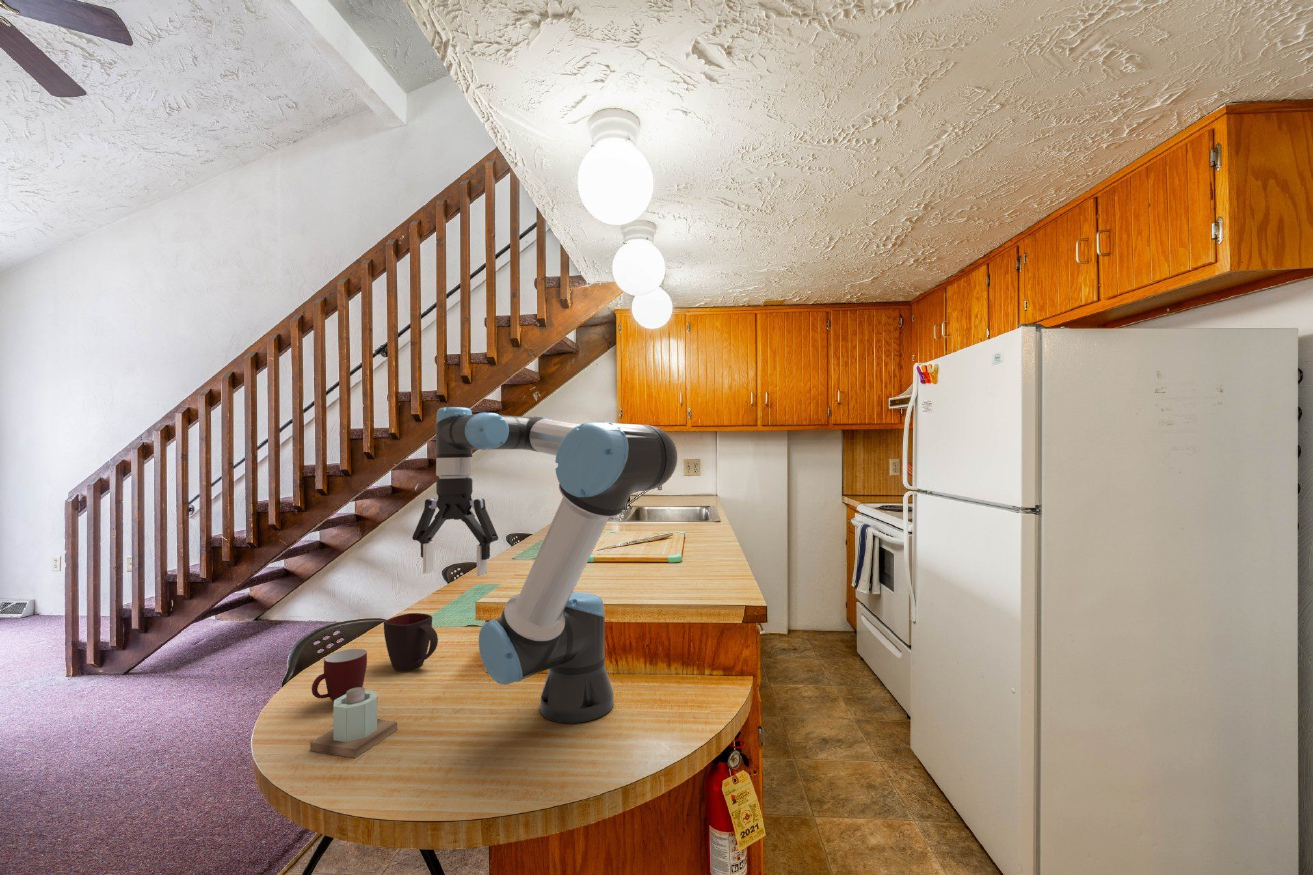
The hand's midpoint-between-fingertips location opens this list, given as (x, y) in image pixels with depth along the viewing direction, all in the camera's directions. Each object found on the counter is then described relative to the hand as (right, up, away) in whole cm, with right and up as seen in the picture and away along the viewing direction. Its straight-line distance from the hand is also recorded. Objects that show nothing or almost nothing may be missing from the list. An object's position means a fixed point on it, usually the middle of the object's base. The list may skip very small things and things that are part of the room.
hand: (454, 573), depth 118 cm
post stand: (-12, -26, -18) cm, 34 cm away
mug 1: (-23, -27, -4) cm, 36 cm away
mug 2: (-16, -28, +16) cm, 36 cm away
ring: (-12, -25, -18) cm, 33 cm away
